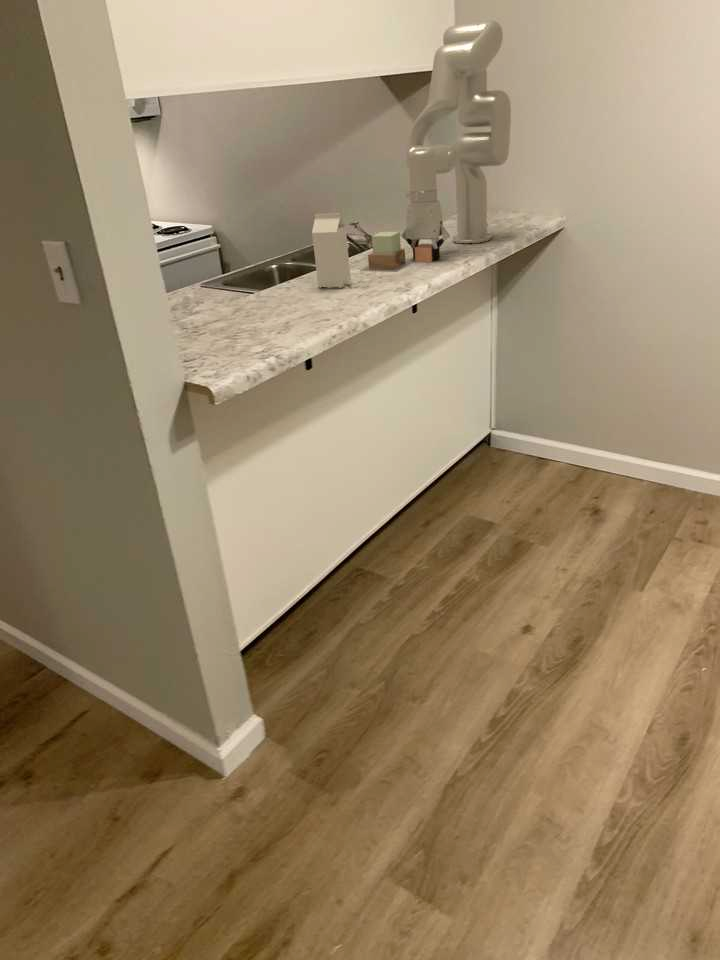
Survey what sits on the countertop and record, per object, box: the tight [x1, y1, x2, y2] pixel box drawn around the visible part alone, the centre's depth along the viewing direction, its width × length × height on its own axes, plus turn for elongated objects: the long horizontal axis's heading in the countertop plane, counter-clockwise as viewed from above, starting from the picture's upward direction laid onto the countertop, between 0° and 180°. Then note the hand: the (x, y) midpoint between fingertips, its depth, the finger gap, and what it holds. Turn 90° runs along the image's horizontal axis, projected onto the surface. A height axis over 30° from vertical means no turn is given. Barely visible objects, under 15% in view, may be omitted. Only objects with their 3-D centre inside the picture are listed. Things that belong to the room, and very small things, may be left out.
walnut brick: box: [367, 248, 406, 270], centre depth 213 cm, size 8×8×4 cm
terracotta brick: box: [414, 243, 433, 263], centre depth 215 cm, size 5×5×5 cm
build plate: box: [359, 260, 415, 273], centre depth 214 cm, size 12×12×1 cm
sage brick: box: [371, 231, 402, 254], centre depth 211 cm, size 6×6×5 cm
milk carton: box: [311, 212, 352, 289], centre depth 199 cm, size 7×7×19 cm
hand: (426, 261), depth 216 cm, fingers open, 5 cm apart
